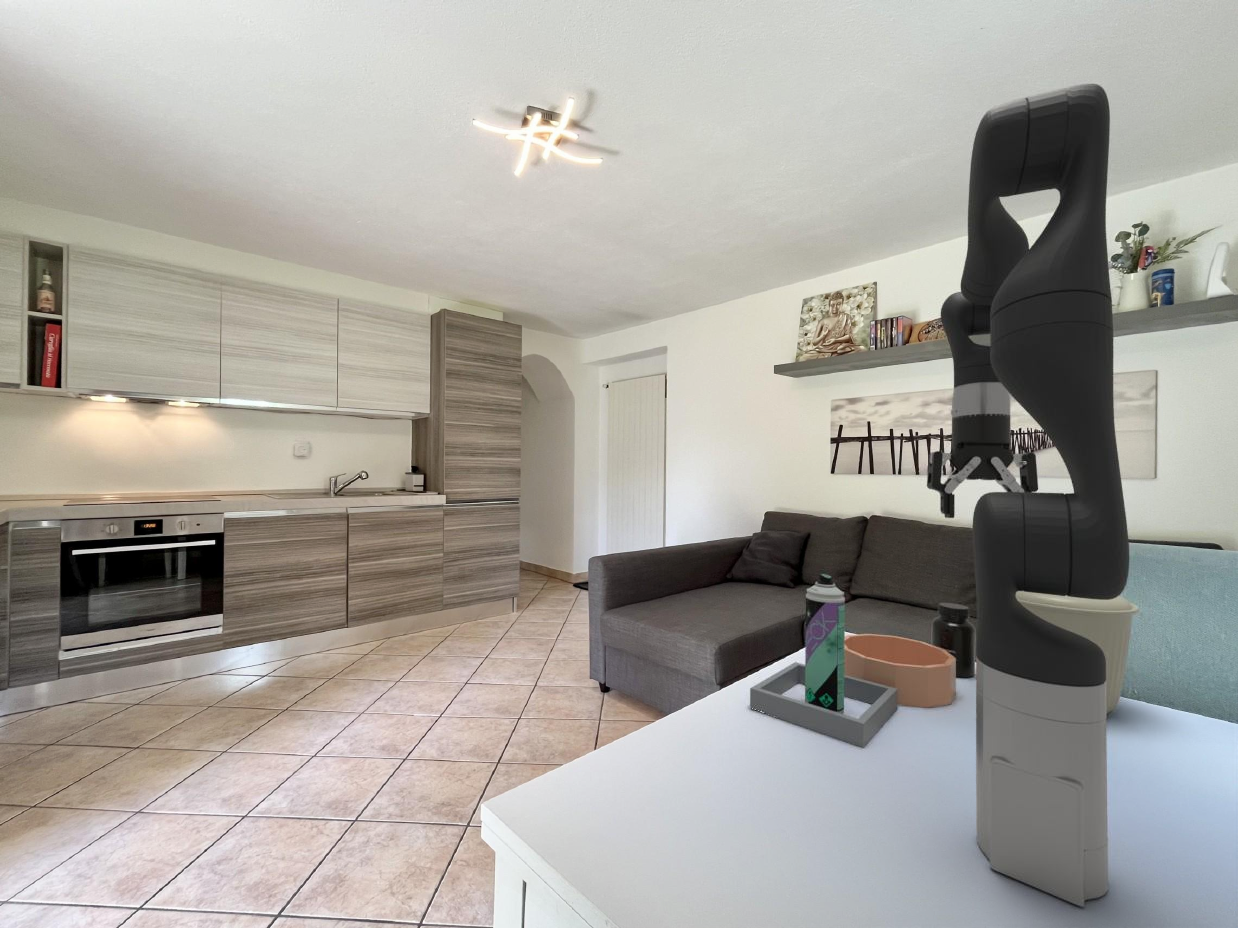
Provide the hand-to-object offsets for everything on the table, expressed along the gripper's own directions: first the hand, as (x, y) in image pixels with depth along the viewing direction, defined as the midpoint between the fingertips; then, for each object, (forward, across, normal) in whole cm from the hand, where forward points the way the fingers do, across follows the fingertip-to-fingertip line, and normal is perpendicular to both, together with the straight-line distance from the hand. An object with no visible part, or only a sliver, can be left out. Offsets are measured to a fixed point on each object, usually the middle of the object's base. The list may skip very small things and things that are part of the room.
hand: (980, 519), depth 80 cm
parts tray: (+29, -23, -7) cm, 38 cm away
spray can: (+29, -23, -7) cm, 38 cm away
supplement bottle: (+29, +2, +17) cm, 33 cm away
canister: (+29, +14, +7) cm, 33 cm away
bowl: (+29, -10, +7) cm, 31 cm away
